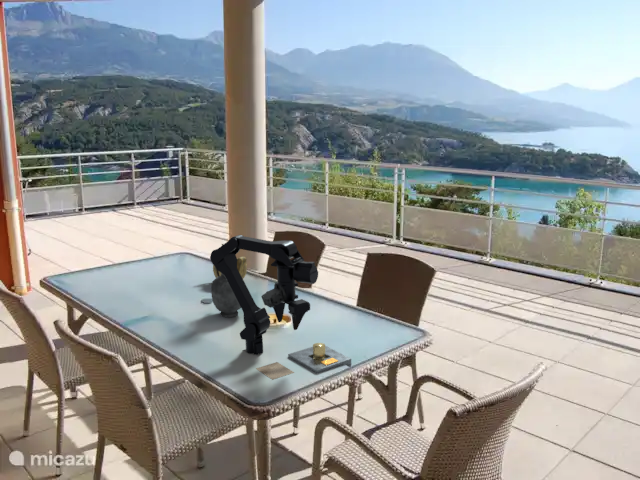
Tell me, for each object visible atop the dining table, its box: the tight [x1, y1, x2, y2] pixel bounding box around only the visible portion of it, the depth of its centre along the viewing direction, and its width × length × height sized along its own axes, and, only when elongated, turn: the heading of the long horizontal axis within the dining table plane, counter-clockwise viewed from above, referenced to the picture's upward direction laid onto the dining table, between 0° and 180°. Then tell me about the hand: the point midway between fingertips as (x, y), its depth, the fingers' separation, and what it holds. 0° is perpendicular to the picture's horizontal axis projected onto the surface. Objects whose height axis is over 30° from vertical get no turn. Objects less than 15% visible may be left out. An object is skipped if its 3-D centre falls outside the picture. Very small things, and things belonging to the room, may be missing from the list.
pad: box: [255, 361, 295, 381], centre depth 172 cm, size 10×8×1 cm
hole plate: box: [287, 345, 352, 375], centre depth 179 cm, size 16×14×2 cm
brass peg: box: [312, 342, 326, 361], centre depth 179 cm, size 4×4×6 cm
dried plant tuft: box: [212, 256, 248, 280], centre depth 273 cm, size 22×17×15 cm
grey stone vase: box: [210, 243, 242, 318], centre depth 226 cm, size 11×19×30 cm, turn 34°
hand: (287, 325), depth 179 cm, fingers open, 9 cm apart
